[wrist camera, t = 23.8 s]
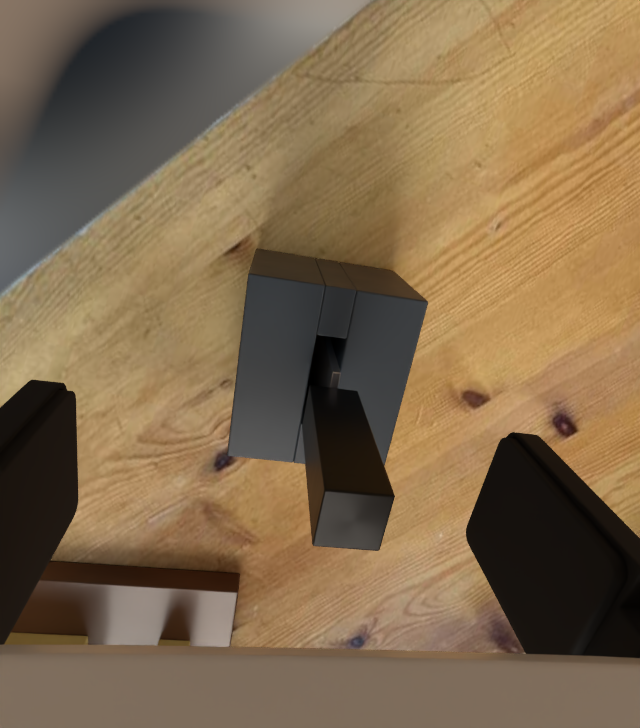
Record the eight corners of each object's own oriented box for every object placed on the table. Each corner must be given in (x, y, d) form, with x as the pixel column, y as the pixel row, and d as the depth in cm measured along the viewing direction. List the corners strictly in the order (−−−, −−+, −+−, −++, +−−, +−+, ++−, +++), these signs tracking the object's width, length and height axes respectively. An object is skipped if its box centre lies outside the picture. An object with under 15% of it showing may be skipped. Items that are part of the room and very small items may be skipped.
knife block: (238, 394, 25) (226, 456, 20) (256, 248, 23) (248, 273, 17) (361, 409, 26) (383, 472, 21) (394, 270, 24) (429, 301, 18)
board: (-66, 701, 33) (-81, 725, 31) (-97, 550, 28) (-117, 570, 26) (220, 709, 36) (217, 731, 34) (240, 573, 30) (238, 592, 29)
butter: (-7, 684, 30) (-47, 754, 27) (-14, 630, 29) (-57, 698, 25) (89, 687, 31) (63, 755, 28) (88, 635, 29) (61, 701, 26)
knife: (293, 361, 25) (308, 564, 12) (302, 307, 24) (328, 468, 11) (326, 365, 25) (374, 569, 12) (336, 312, 24) (401, 476, 11)
